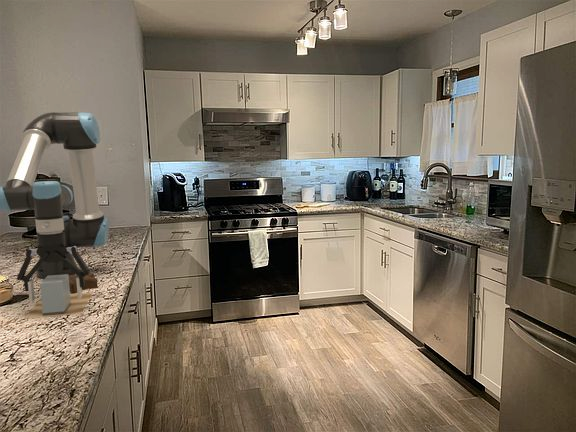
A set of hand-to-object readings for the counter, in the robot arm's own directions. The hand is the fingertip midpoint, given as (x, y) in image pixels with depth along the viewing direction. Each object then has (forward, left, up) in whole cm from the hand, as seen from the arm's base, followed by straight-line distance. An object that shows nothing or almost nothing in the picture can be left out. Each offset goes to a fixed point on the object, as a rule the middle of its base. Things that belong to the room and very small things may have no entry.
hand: (56, 299), depth 142 cm
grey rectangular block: (0, 0, -3) cm, 3 cm away
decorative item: (-25, +1, -4) cm, 25 cm away
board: (-5, 0, -4) cm, 6 cm away
